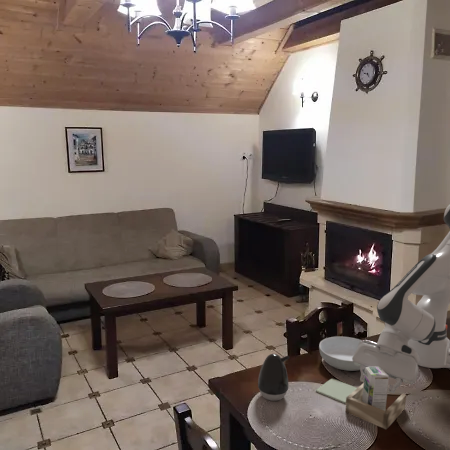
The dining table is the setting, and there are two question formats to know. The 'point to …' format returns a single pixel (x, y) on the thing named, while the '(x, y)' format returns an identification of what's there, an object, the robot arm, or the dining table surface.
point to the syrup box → (375, 387)
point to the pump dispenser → (273, 378)
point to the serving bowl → (339, 352)
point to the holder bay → (374, 409)
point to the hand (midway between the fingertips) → (376, 386)
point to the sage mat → (336, 390)
